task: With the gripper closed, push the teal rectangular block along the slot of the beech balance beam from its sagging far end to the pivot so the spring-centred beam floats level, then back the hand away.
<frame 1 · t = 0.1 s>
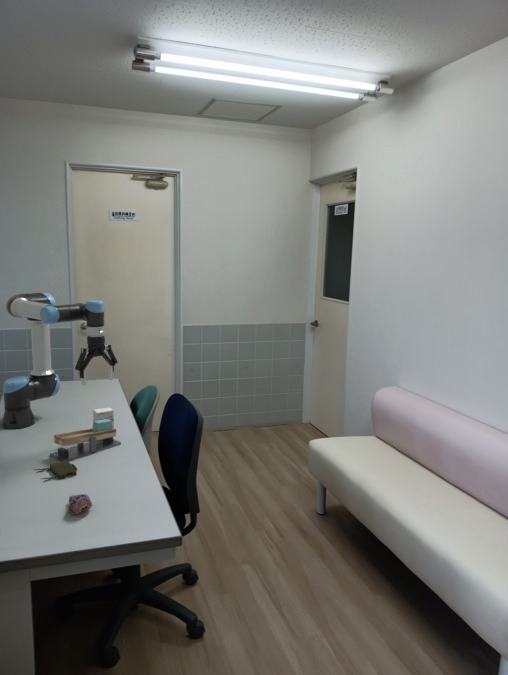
hand: (97, 382, 227), 28 cm above the table, fingers open, 13 cm apart
purple brown lumpy chunk: (79, 509, 172), on the table
beam: (86, 435, 220), point 7 cm above the table, hinge at -6.0°, touching teal rectangular block
electronic device: (56, 474, 198), on the table
ink box: (104, 433, 242), on the table
teal rectangular block: (102, 431, 227), point 6 cm above the table, tilted 6°, touching beam
stand: (86, 450, 221), on the table
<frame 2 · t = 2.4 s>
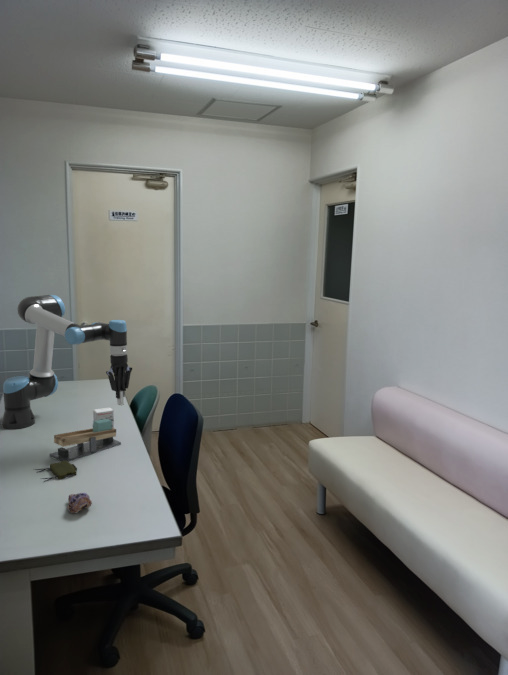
hand: (120, 404, 232), 17 cm above the table, fingers closed
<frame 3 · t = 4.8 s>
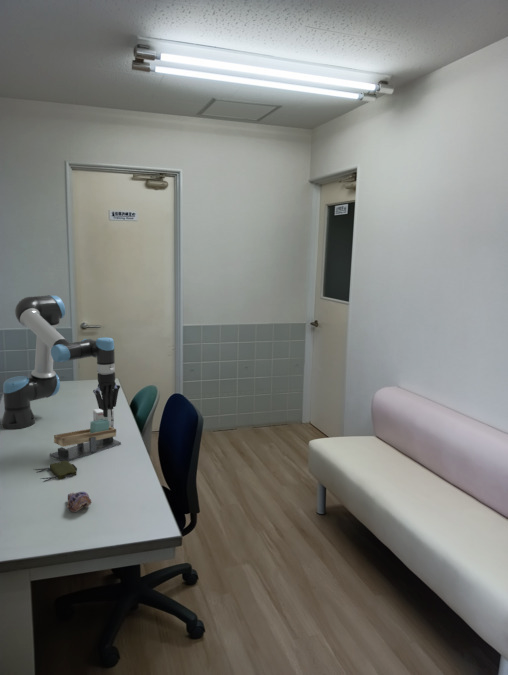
hand: (108, 423, 228), 9 cm above the table, fingers closed
beam: (86, 435, 220), point 7 cm above the table, hinge at -5.9°
teal rectangular block: (99, 432, 225), point 6 cm above the table, tilted 6°, touching gripper
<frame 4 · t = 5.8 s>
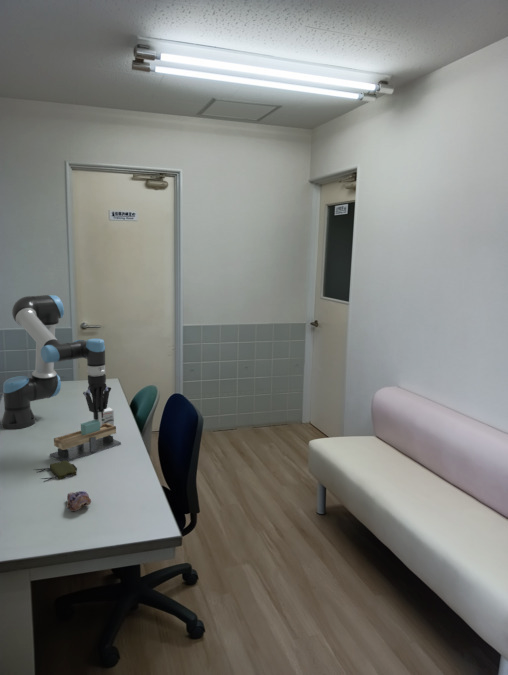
hand: (98, 425, 225), 9 cm above the table, fingers closed
beam: (86, 435, 220), point 7 cm above the table, hinge at 0.4°, touching teal rectangular block
teal rectangular block: (90, 433, 222), point 7 cm above the table, touching beam, gripper
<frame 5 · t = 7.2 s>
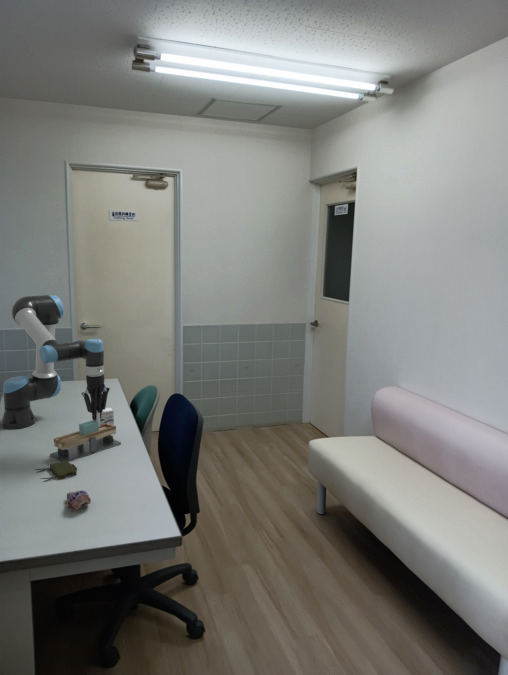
hand: (97, 426, 224), 9 cm above the table, fingers closed
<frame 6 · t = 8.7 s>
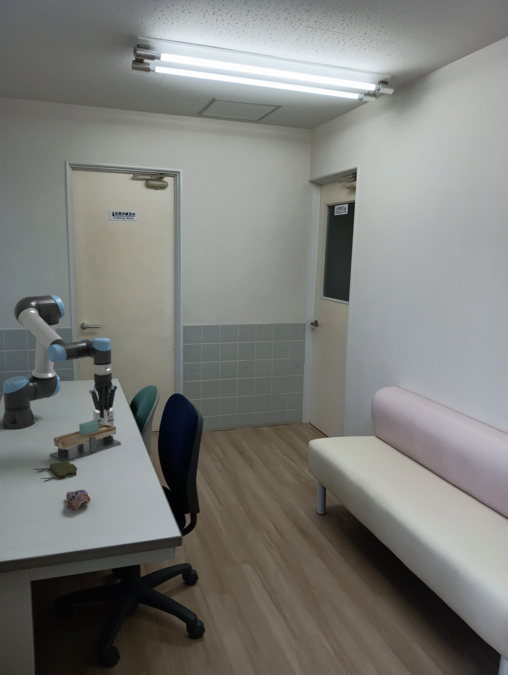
hand: (104, 424, 227), 9 cm above the table, fingers closed
beam: (86, 435, 220), point 7 cm above the table, hinge at -0.7°, touching teal rectangular block
teal rectangular block: (89, 434, 221), point 7 cm above the table, touching beam
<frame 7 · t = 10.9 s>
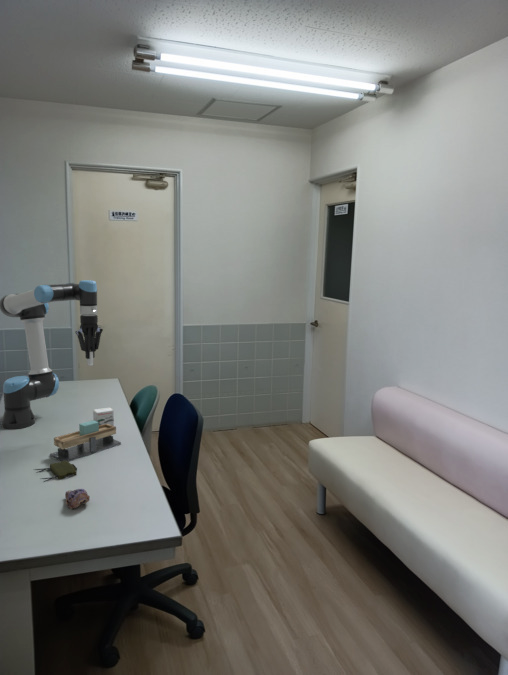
hand: (90, 365, 233), 34 cm above the table, fingers closed
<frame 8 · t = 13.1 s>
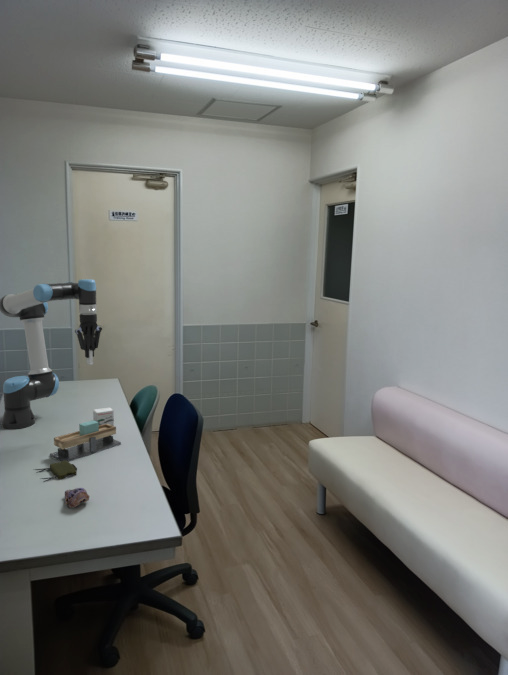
hand: (89, 364, 233), 34 cm above the table, fingers closed
at the end: beam at -1° (first picture: -5°); teal rectangular block 1.5 cm off-centre on the beam, point 1.0 cm above the beam's base; teal rectangular block touching beam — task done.
